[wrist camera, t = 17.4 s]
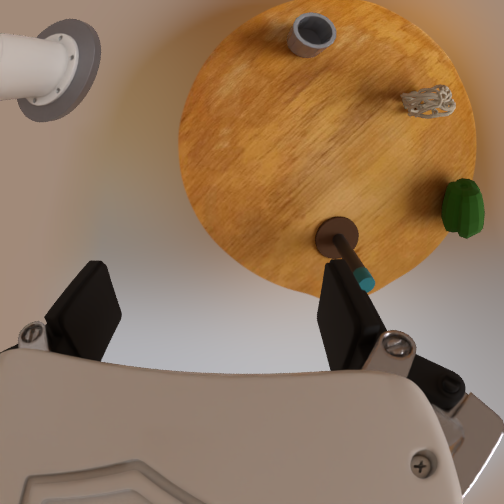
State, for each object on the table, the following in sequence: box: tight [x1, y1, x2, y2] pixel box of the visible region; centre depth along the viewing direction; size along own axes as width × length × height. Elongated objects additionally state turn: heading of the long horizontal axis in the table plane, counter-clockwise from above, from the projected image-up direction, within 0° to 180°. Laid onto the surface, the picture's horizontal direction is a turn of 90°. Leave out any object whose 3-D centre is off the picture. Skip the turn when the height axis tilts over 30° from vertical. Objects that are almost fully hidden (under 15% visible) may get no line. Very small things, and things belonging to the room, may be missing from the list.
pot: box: [287, 13, 336, 58], centre depth 25 cm, size 5×5×6 cm
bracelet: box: [400, 85, 456, 119], centre depth 27 cm, size 4×8×8 cm, turn 119°
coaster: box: [315, 217, 359, 259], centre depth 41 cm, size 7×7×1 cm
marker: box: [332, 234, 375, 292], centre depth 35 cm, size 2×2×12 cm
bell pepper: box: [441, 178, 485, 239], centre depth 35 cm, size 8×8×10 cm
